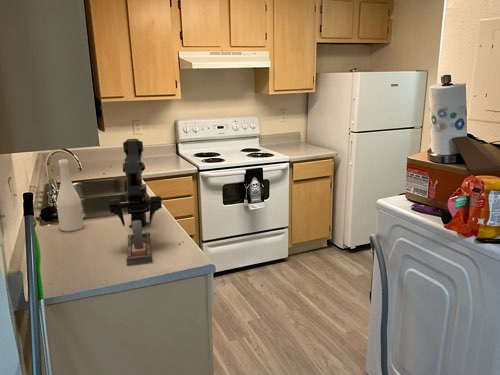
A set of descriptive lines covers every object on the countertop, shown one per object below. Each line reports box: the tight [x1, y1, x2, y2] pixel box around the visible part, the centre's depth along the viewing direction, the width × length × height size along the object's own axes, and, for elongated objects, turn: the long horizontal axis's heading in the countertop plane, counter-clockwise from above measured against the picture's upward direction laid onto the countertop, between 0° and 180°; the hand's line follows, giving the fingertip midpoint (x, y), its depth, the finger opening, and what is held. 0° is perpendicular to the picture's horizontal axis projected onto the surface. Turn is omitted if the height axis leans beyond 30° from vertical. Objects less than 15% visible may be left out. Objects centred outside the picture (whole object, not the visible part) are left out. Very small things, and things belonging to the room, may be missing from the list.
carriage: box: [131, 220, 146, 257], centre depth 146 cm, size 7×5×12 cm
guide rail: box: [125, 232, 153, 266], centre depth 151 cm, size 23×8×3 cm, turn 15°
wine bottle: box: [56, 158, 85, 232], centre depth 172 cm, size 10×10×30 cm
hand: (137, 224), depth 148 cm, fingers open, 9 cm apart
